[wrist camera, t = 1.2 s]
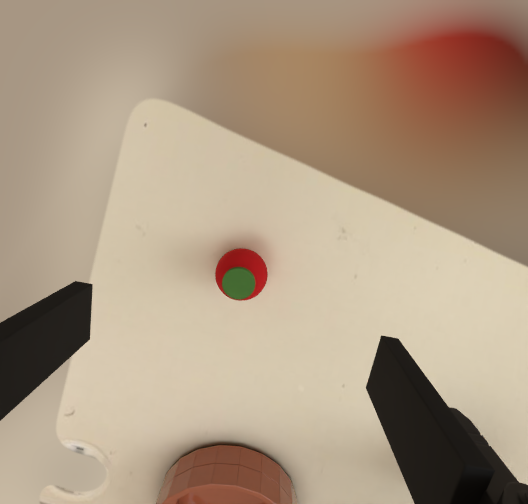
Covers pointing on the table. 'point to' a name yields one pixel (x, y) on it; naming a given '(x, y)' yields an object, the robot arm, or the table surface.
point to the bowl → (226, 478)
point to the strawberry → (241, 274)
